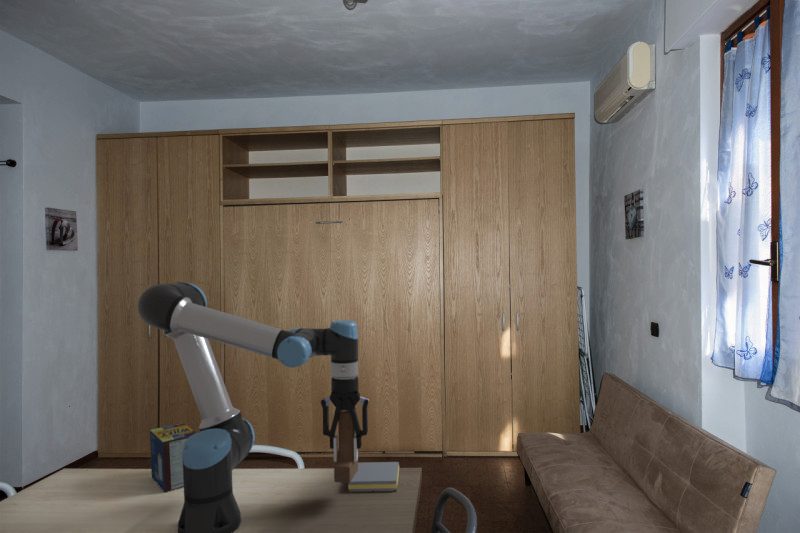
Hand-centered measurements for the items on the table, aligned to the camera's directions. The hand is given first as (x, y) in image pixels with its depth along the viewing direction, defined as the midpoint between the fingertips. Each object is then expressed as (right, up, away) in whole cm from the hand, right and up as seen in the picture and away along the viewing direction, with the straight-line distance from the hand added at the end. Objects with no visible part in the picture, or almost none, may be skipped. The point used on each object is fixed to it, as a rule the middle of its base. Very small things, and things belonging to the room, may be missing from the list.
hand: (345, 459), depth 141 cm
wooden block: (0, -5, 0) cm, 5 cm away
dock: (+7, -11, +13) cm, 19 cm away
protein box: (-56, -14, +19) cm, 61 cm away
